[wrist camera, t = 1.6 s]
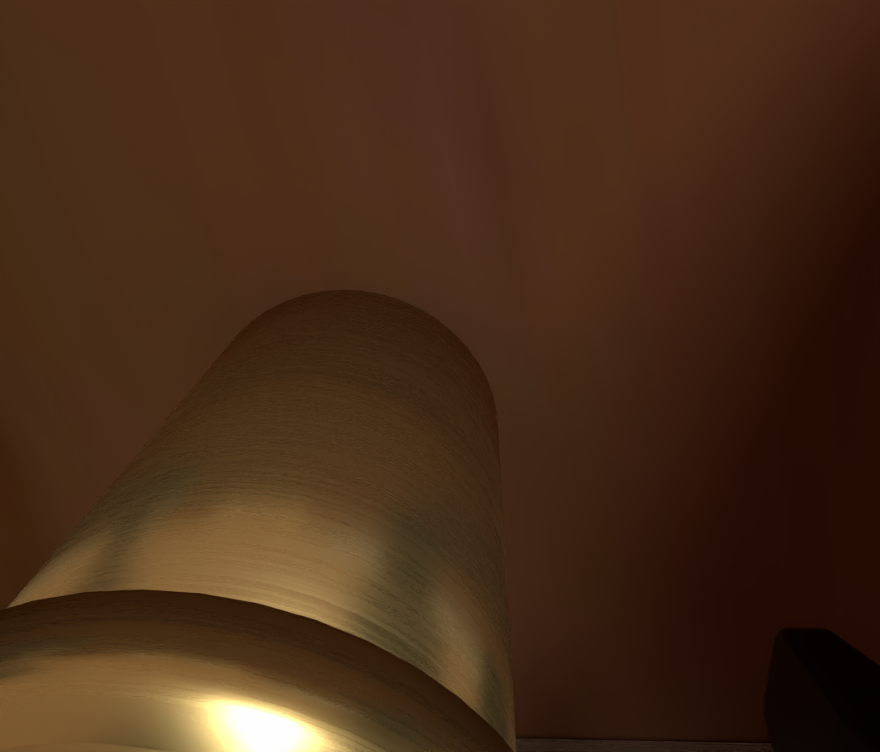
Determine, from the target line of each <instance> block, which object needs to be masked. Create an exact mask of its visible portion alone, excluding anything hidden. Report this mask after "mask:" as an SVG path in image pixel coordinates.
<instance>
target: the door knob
mask: <svg viewBox="0 0 880 752" xmlns="http://www.w3.org/2000/svg"><path fill="white" fill-rule="evenodd" d="M0 752H517V751H516V733H515V716H514V699H513V681H512V664H511V647H510V629H509V612H508V594H507V577H506V560H505V542H504V525H503V508H502V490H501V473H500V456H499V438H498V422H497V412H496V407H495V402H494V397H493V394H492V391H491V389H490V386H489V383H488V380H487V378H486V376H485V374H484V372H483V371H482V369H481V367H480V365H479V363H478V362H477V360H476V359H475V357H474V356H473V355H472V353H471V352H470V350H469V349H468V348H467V346H466V345H465V344H464V343H463V342H462V341H461V340H460V339H459V338H458V337H457V336H456V335H455V334H454V333H453V332H452V331H451V330H450V329H448V328H447V327H446V326H445V325H443V324H442V323H441V322H440V321H439V320H437V319H435V318H434V317H432V316H431V315H429V314H427V313H426V312H424V311H423V310H421V309H419V308H417V307H414V306H412V305H410V304H408V303H406V302H404V301H401V300H398V299H395V298H392V297H388V296H385V295H381V294H376V293H371V292H365V291H352V290H335V291H322V292H317V293H312V294H307V295H302V296H300V297H297V298H294V299H291V300H288V301H285V302H283V303H281V304H279V305H277V306H275V307H273V308H271V309H269V310H267V311H266V312H264V313H263V314H261V315H260V316H259V317H257V318H256V319H254V320H253V321H252V322H250V323H249V324H248V325H247V326H246V327H245V328H244V329H243V330H242V331H241V332H240V333H239V334H238V335H237V336H236V337H235V338H234V340H233V341H232V342H231V343H230V344H229V346H228V347H227V348H226V349H225V350H224V352H223V353H222V354H221V355H220V356H219V357H218V359H217V360H216V361H215V362H214V363H213V365H212V366H211V367H210V368H209V369H208V371H207V372H206V373H205V374H204V375H203V376H202V378H201V379H200V380H199V381H198V382H197V384H196V385H195V386H194V387H193V388H192V390H191V391H190V392H189V393H188V394H187V395H186V397H185V398H184V399H183V400H182V401H181V403H180V404H179V405H178V406H177V407H176V408H175V410H174V411H173V412H172V413H171V414H170V416H169V417H168V418H167V419H166V420H165V422H164V423H163V424H162V425H161V426H160V427H159V429H158V430H157V431H156V432H155V433H154V435H153V436H152V437H151V438H150V439H149V441H148V442H147V443H146V444H145V445H144V446H143V448H142V449H141V450H140V451H139V452H138V454H137V455H136V456H135V457H134V458H133V460H132V461H131V462H130V463H129V464H128V465H127V467H126V468H125V469H124V470H123V471H122V473H121V474H120V475H119V476H118V477H117V478H116V480H115V481H114V482H113V483H112V484H111V486H110V487H109V488H108V489H107V490H106V492H105V493H104V494H103V495H102V496H101V497H100V499H99V500H98V501H97V502H96V503H95V505H94V506H93V507H92V508H91V509H90V511H89V512H88V513H87V514H86V515H85V516H84V518H83V519H82V520H81V521H80V522H79V524H78V525H77V526H76V527H75V528H74V530H73V531H72V532H71V533H70V534H69V535H68V537H67V538H66V539H65V540H64V541H63V543H62V544H61V545H60V546H59V547H58V548H57V550H56V551H55V552H54V553H53V554H52V556H51V557H50V558H49V559H48V560H47V562H46V563H45V564H44V565H43V566H42V567H41V569H40V570H39V571H38V572H37V573H36V575H35V576H34V577H33V578H32V579H31V581H30V582H29V583H28V584H27V585H26V586H25V588H24V589H23V590H22V591H21V592H20V594H19V595H18V596H17V597H16V598H15V600H14V601H13V602H12V603H11V604H10V605H9V607H8V608H6V609H3V610H0Z"/></svg>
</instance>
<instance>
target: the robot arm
mask: <svg viewBox="0 0 880 752" xmlns="http://www.w3.org/2000/svg"><path fill="white" fill-rule="evenodd" d="M764 713H765V721H766V726H767V731H768V734H769V738H770V742H771V745H772V749H773V752H880V665H878V664H877V663H875V662H874V661H873V660H871V659H870V658H868V657H867V656H865V655H864V654H863V653H861V652H860V651H858V650H857V649H856V648H854V647H853V646H851V645H850V644H849V643H847V642H846V641H844V640H843V639H841V638H840V637H839V636H837V635H836V634H834V633H833V632H831V631H829V630H826V629H822V628H784V629H782V630H781V631H779V632H778V634H777V636H776V638H775V641H774V645H773V651H772V657H771V663H770V669H769V674H768V680H767V686H766V692H765V698H764Z"/></svg>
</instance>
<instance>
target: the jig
mask: <svg viewBox="0 0 880 752" xmlns="http://www.w3.org/2000/svg"><path fill="white" fill-rule="evenodd" d="M516 751H517V752H773V749H772V745H771V743H726V742H675V741H625V740H574V739H523V738H516Z"/></svg>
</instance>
